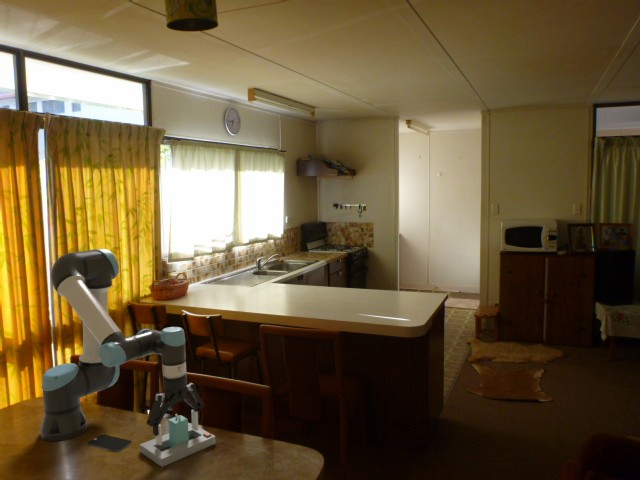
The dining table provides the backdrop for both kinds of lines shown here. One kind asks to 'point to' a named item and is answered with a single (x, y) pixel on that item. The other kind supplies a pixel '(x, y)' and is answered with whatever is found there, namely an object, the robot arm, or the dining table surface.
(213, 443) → the grey slotted tray
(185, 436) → the block
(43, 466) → the dining table surface
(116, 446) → the smartphone
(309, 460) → the dining table surface
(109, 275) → the robot arm
